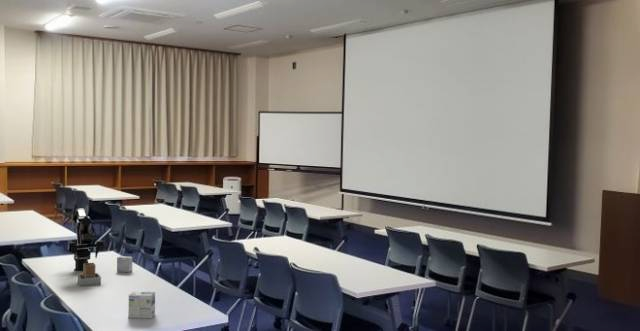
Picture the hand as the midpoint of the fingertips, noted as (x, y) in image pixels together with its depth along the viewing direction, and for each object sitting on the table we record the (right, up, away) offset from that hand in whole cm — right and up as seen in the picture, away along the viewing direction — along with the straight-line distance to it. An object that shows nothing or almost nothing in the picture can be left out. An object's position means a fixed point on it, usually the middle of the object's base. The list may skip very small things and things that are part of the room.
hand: (87, 258), depth 319 cm
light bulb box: (+49, -17, -59) cm, 78 cm away
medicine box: (+13, -12, +23) cm, 29 cm away
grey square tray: (+3, -12, -6) cm, 14 cm away
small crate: (+3, -12, -6) cm, 14 cm away
